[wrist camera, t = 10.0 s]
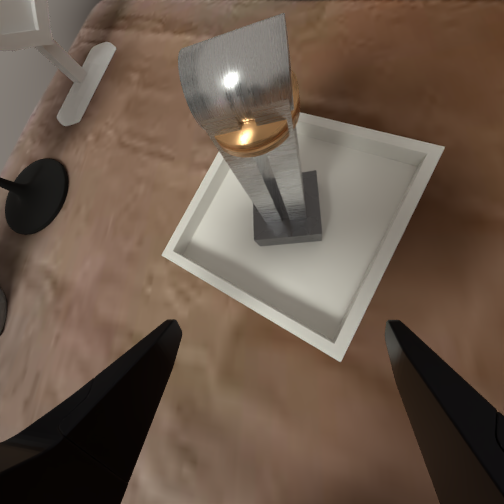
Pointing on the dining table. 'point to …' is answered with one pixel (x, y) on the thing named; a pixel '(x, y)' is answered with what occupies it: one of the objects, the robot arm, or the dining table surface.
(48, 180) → the wine glass
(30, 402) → the dining table surface
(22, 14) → the heart sculpture
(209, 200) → the ceramic tray
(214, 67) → the silver cylinder with base
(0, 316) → the coffeepot
